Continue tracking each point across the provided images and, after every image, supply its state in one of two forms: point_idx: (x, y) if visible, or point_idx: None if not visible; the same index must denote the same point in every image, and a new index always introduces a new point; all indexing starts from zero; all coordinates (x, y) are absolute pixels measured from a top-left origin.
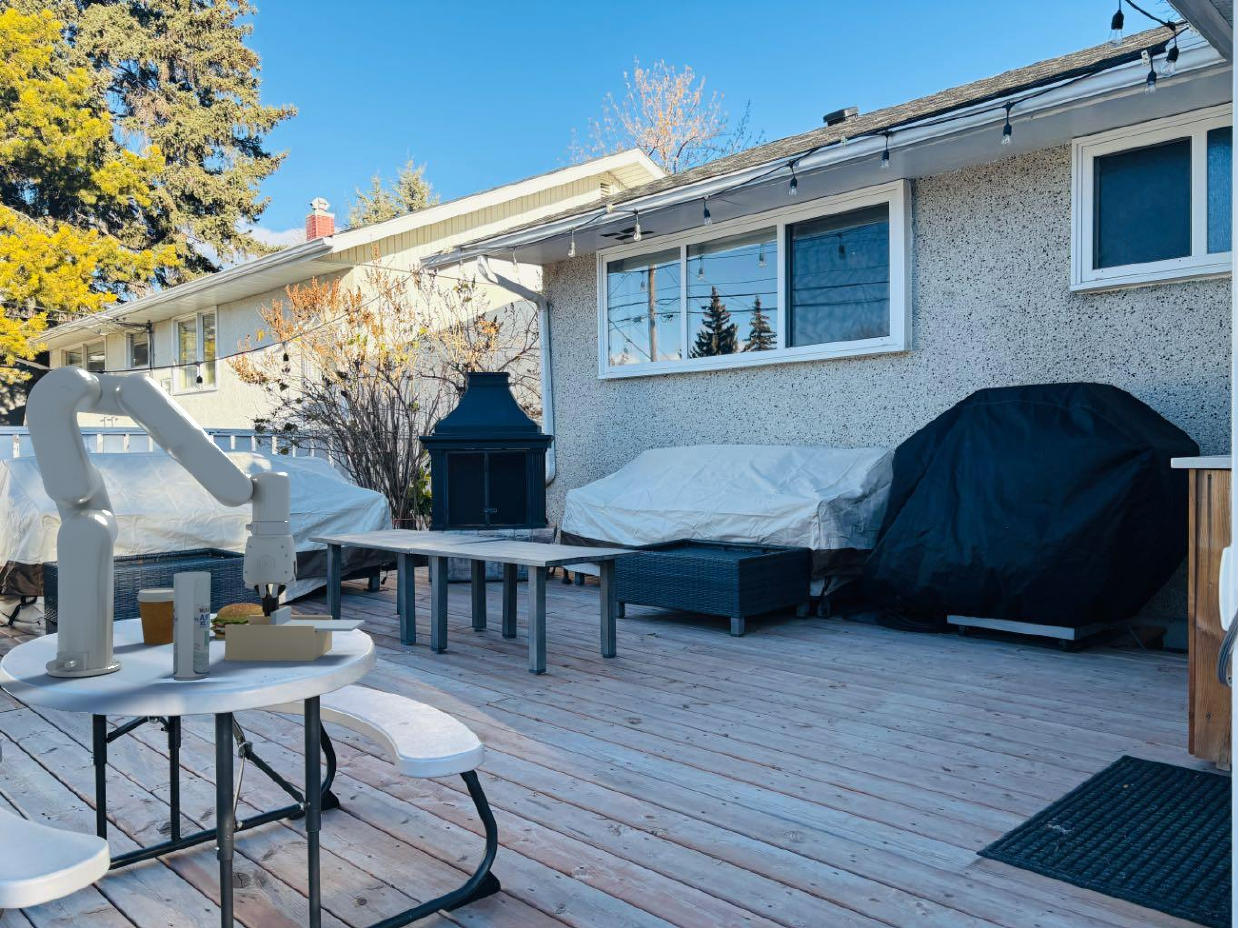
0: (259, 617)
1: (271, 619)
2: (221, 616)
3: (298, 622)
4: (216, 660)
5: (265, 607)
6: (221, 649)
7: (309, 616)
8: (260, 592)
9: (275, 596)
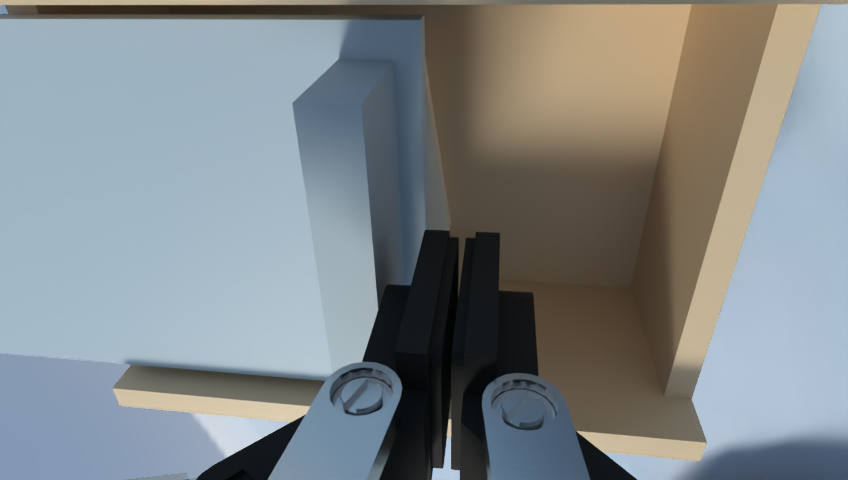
0: (616, 425)
1: (368, 83)
2: None
3: (271, 282)
4: (808, 66)
5: (483, 280)
6: (811, 350)
7: (253, 399)
8: (563, 440)
9: (352, 382)
